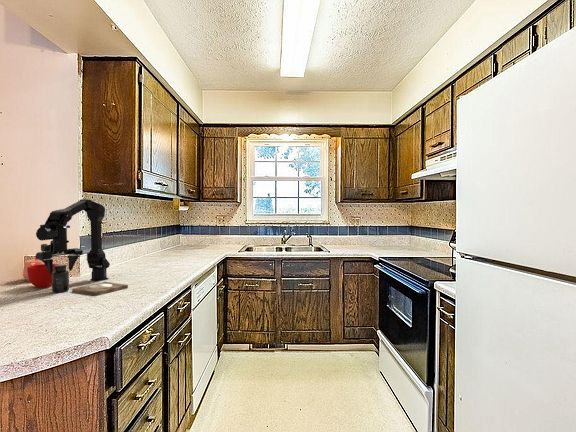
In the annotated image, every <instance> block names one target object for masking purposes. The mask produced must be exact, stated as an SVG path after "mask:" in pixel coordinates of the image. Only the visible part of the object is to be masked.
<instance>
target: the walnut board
mask: <svg viewBox="0 0 576 432" xmlns="http://www.w3.org/2000/svg"><path fill="white" fill-rule="evenodd" d="M128 285H129V284H124V283H117V282H110V281H103V282H102V281H101V282H97V283H92V284H88V285H84V286H83V285H82V286H78V287H73V288H71V292H72V293H76V294H77V293H78V294H83V295H89V296H94V297H95V296H96V297H97V296H100V295H104V294H109V293H113V292H117V291H120V290H122V291H123V290H125V289H126V290H127V289H128V288H129V286H128Z"/></svg>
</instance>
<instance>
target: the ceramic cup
mask: <svg viewBox="0 0 576 432" xmlns="http://www.w3.org/2000/svg"><path fill="white" fill-rule="evenodd" d="M55 265H59V264H57V263H53V266H52V272H54V271H55V270H54V266H55ZM27 273H28V278H29V280H30V281H29V282H30V283H31V285H33V286H34V287H35V288H36V289H43V288H44V289H45V288H50V287H52V274H49V272H48V270H47V268H46V266H45V264H41V265H33V266H29V267H27Z"/></svg>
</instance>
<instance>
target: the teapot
mask: <svg viewBox="0 0 576 432" xmlns="http://www.w3.org/2000/svg"><path fill="white" fill-rule="evenodd" d="M41 264H44V263H43V262H42V261H40V260H39V259H36V256H34V257H33V259H28V260H26V261H25V263H24V266H23V270H22V271H23V272H22V277H23V278H24V279H25V280H26V282H30V280H29V278H28V273H27V267H29V266H33V265H41Z"/></svg>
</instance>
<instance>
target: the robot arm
mask: <svg viewBox="0 0 576 432" xmlns="http://www.w3.org/2000/svg"><path fill="white" fill-rule="evenodd" d="M83 211H84V212H86V217H87V218H88V220H89V221H90V251H88V252H87V253H86V261H87V264H88V268H89V269H91V274H90V275H91V278H90V281H97V282H99V281H103V280H108V279H110V278H109V277H107V276H108V275H107V269H109V268H110V265H111V263H110V262H109V260H108V259H107V258H106V256H107V255H106V252H105V251H104V250H103V247H102V245H103V244H102V240H103V239H102V234H103V233H102V221H103V220H104V217H105V216H106V208H105V206H104V205H103V204H101V203H98V202H95V201H93V200H92V199H89V198H81V199H79V201H76V202H74V203H73V204H71V205H69V206H67V207H65V208H61V209H55V210H52V211H50V213H49V215H48V217H47V218H46V220H45V223H43V224H40V225H39V227H38V229H37V230H36V232H35V236H36V238H37V239H38V240H39V241H48V240H49V241H50V244H47V243H41V245H40V251H38V252H36V254H35V257H36V259H39V260H40V261H42V262H43V263H44V264H45V266H46V268H47V270H48V272H49V274H52V266H53V264H54V263H53V262H54V259H53V257H58V256H60V257H61V256H66V257H67V259H68V272H71V271H72V270H73V268H74V266H75V264H76V262H77V260H78V259H79V258H80V257H81V256H82V255H84V251H83V249H82V248H79V247H75V248H68V243H70V240H69V239H68V230H67V229H69V228H71V226H70V224H68V223H69V222H70V221H71V220H72V219H73V216H75V215H77V214H79V213H80V212H83Z"/></svg>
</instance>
